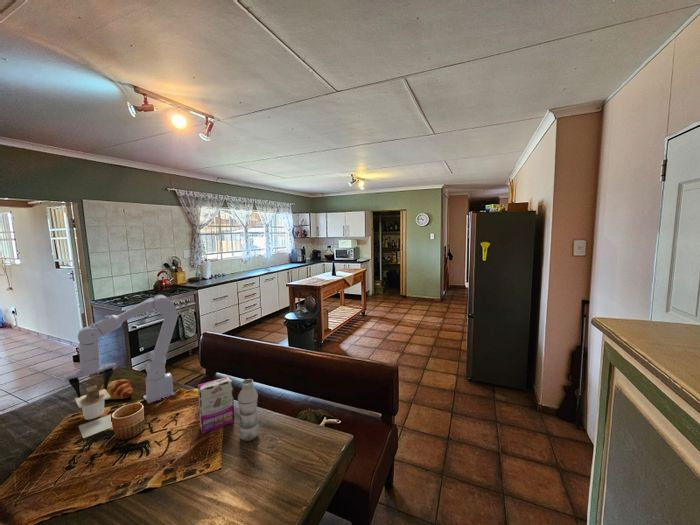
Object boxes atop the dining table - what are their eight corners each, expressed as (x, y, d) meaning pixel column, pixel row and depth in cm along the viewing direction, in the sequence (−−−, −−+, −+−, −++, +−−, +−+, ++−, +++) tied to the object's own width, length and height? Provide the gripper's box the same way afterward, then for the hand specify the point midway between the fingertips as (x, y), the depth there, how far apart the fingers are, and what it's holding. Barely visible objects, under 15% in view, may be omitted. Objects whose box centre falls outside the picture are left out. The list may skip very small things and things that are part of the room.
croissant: (96, 400, 127) (84, 388, 124) (117, 380, 135) (107, 369, 131) (125, 409, 119) (114, 398, 116) (147, 388, 127) (137, 377, 123)
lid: (105, 390, 116) (104, 380, 115) (110, 397, 110) (110, 387, 110) (74, 399, 109) (74, 389, 108) (79, 408, 103) (78, 397, 103)
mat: (113, 414, 111) (113, 413, 111) (119, 424, 105) (119, 423, 105) (78, 427, 103) (78, 426, 103) (83, 439, 97) (83, 438, 97)
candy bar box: (231, 416, 110) (230, 375, 109) (234, 422, 106) (233, 380, 105) (199, 427, 104) (197, 383, 102) (201, 434, 100) (199, 389, 98)
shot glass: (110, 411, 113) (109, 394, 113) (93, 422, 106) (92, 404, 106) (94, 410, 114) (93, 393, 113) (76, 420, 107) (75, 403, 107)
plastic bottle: (253, 445, 95) (251, 387, 93) (234, 442, 96) (233, 385, 94) (262, 432, 101) (261, 378, 99) (245, 429, 102) (244, 376, 101)
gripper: (112, 350, 117) (114, 382, 118) (62, 361, 105) (64, 396, 106) (116, 354, 112) (118, 387, 113) (64, 367, 101) (67, 403, 102)
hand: (92, 392), depth 109 cm, fingers open, 7 cm apart
